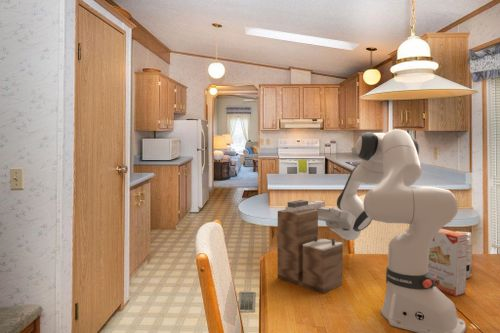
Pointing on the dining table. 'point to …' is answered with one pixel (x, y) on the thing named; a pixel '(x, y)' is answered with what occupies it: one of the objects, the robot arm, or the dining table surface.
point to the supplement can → (468, 258)
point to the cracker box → (449, 261)
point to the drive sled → (303, 206)
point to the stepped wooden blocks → (307, 253)
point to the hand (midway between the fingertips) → (320, 208)
